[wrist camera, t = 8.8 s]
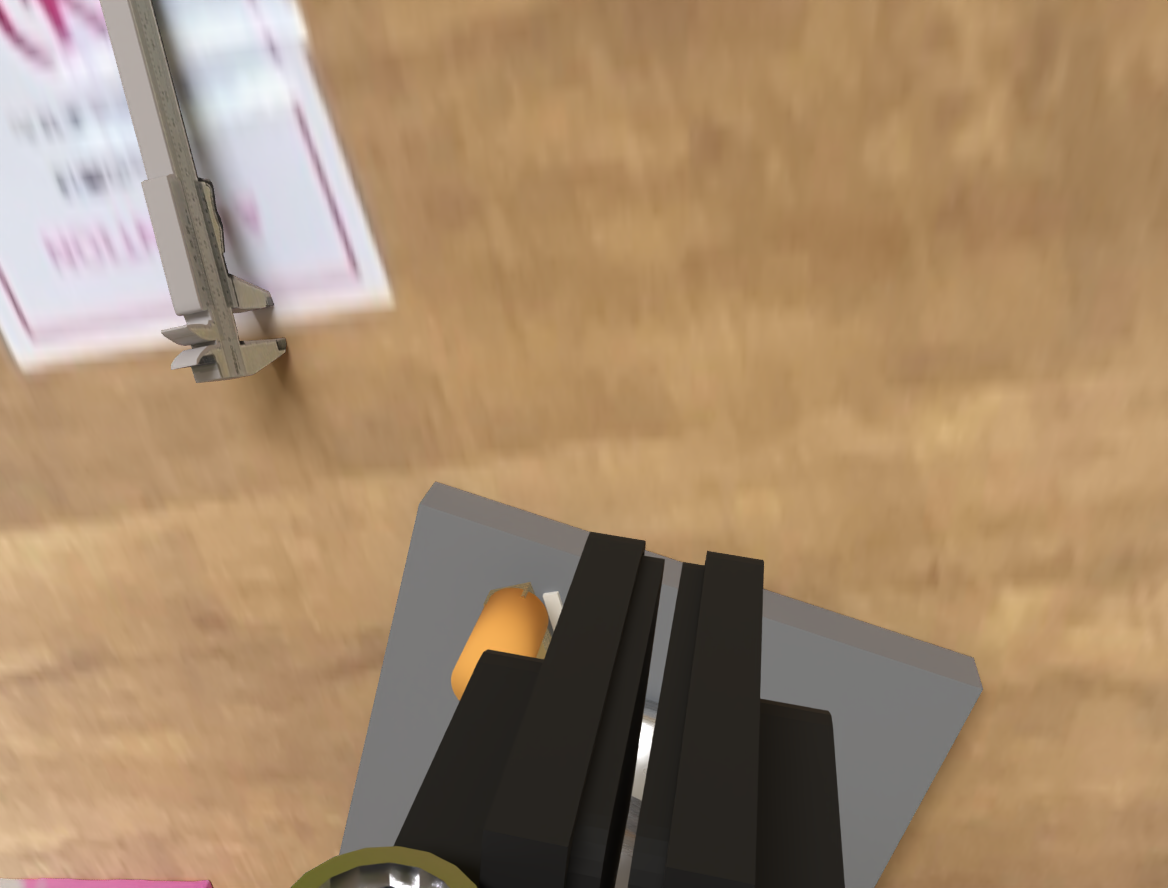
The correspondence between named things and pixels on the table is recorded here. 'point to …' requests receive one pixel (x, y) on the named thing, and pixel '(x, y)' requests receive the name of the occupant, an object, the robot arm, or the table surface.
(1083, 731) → the table surface
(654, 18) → the table surface
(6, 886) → the gum box
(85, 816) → the table surface
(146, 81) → the caliper
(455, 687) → the dial
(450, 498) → the dial base
